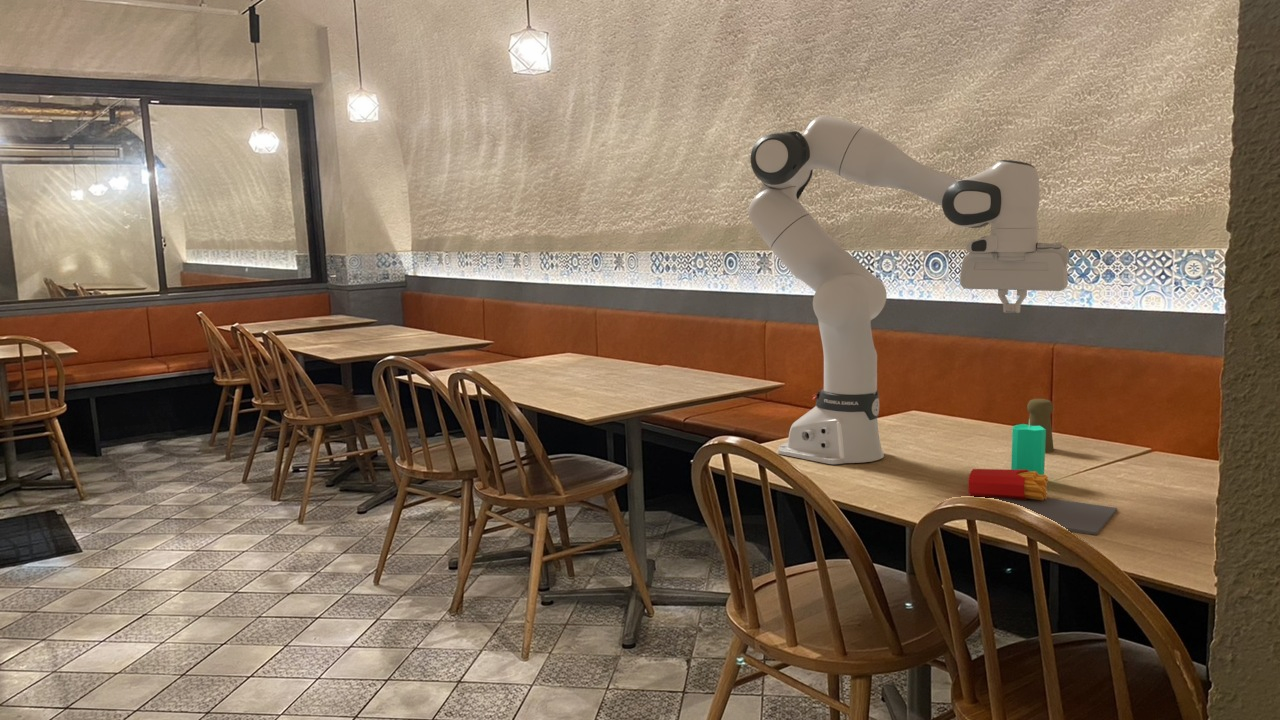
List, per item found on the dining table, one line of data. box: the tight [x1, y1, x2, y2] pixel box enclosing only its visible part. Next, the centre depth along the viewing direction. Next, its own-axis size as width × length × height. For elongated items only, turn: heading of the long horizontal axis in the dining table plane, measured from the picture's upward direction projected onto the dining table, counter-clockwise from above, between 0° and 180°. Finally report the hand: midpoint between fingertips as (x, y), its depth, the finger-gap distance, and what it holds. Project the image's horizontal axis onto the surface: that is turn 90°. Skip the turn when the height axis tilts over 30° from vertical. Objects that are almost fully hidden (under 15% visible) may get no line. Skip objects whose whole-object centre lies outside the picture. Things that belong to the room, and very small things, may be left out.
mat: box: [989, 497, 1118, 536], centre depth 169 cm, size 20×16×1 cm
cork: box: [1026, 398, 1054, 453], centre depth 214 cm, size 6×6×11 cm
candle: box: [1010, 418, 1046, 475], centre depth 189 cm, size 6×6×12 cm
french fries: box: [967, 468, 1049, 500], centre depth 179 cm, size 9×4×13 cm
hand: (1011, 312), depth 198 cm, fingers closed
